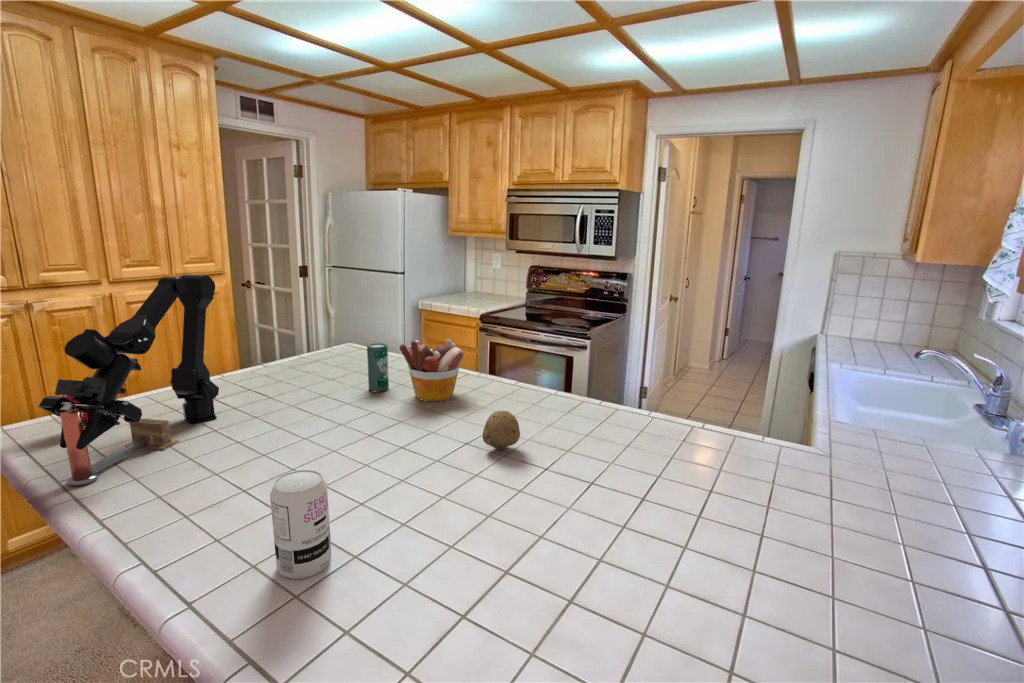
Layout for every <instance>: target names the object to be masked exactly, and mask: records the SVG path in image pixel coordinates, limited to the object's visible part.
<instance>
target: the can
mask: <svg viewBox="0 0 1024 683" xmlns="http://www.w3.org/2000/svg"><path fill="white" fill-rule="evenodd" d="M366 349H367V350H366V351H367V353H366V354H367V355H366V356H367V379H368V380H367V381H368V390H371V391H376V392H375V393H381V392H380V391H384V392H386V390H387V391H388V390H389V389H390V385H389V384H390V383H389V381H390V380H389V355H388V354H389V352H388V350H389V348H388V344H387V343H383V342H377V343H376V342H373V343H369V344H367V346H366ZM388 388H389V389H388ZM371 391H370V392H371Z"/></svg>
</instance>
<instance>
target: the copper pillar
mask: <svg viewBox="0 0 1024 683" xmlns="http://www.w3.org/2000/svg"><path fill="white" fill-rule="evenodd" d="M60 416H61V417H60V421H61V428H62V427H63V432H64V437H65V443H66V448H65V449H66V453H67V456H68V457H67V458H68V462H69V463H68V464H69V468H70V473H71V477H69V478H68V479H67V480H66V481H67V485H68V487H79V486H85V485H88V484H90V483H93V482H95V481H97V480H98V478H99V475H98V472H100V471H102V470H103V469H106V468H107V467H110V466H111V465H113V464H115V463H117V462H119V461H121V460H122V459H124V458H126V457H128V456H130V455H132V454H133V453H136V452H138V451H140V450H142V449H141V448H143V447H145V446H147V445H148V443H147V439H141V440H139V441H137V442H135V443H133V444H131V445H129V446H127V447H125V446H124V447H123V448H121V449H119V450H117V451H115V452H114V453H112V454H110V455H107V456H106V457H104V458H102V459H100V460H98V461H96V462H94V463H92V464H91V458H90V454H89V448H88V445H87V446H86V447H84V448H83V449H81V450H79V449H77V448H76V446H77V444H78V441H79V439H80V437H81V435H82V433H83V431H84V425H83V419H82V414H81V410H80V409H70V410H66V411H63V412H61V413H60Z"/></svg>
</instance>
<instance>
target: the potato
mask: <svg viewBox="0 0 1024 683" xmlns="http://www.w3.org/2000/svg"><path fill="white" fill-rule="evenodd" d="M520 438H521V431H520V424H519V421H518V420H517V418H516V416H515V415H513V413H511V412H510V411H506V410H496V411H494V412H492V413H491V414H490V415H489V416H488V418H487V419H486V421H485V424H484V428H483V430H482V440H483V442H484V443H485V444H486V445H488V446H490V447H492V448H494V449H496V450H504V449H507V448H508V447H510V446H513V445H515V444H517V443H518V441H519V440H520Z"/></svg>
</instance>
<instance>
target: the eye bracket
mask: <svg viewBox="0 0 1024 683" xmlns="http://www.w3.org/2000/svg"><path fill="white" fill-rule="evenodd" d="M129 427H130V434H131V439H132V441H130V442H129V443H127V444H125V445H124V448H125V447H127V446H129V445H131V444H133V443H135V442H137V441H139V440H141V439H147V443H148V445H147V446H145V447H143V448H141V449H140V450H153V449H154V450H156V451H166V450H167V449H168V447H169V448H170V447H172V446H174V445H175V443H176V444H177V443H179V442H180V439H175V438H172V437H171V430H170V423H169V420H164V419H149V418H141V419H140V421H139V422H138V423H134V422H129ZM173 444H174V445H173ZM166 448H167V449H166Z"/></svg>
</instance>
